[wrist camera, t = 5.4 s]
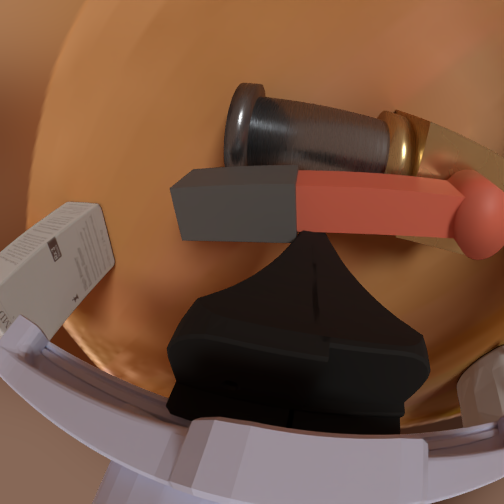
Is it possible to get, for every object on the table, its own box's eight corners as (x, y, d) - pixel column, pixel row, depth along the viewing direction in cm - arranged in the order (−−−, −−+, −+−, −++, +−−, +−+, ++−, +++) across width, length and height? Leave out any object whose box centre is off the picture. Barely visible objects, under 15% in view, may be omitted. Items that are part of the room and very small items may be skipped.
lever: (495, 174, 7) (521, 194, 6) (481, 234, 9) (501, 260, 7) (191, 159, 10) (167, 177, 8) (203, 223, 11) (184, 249, 10)
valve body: (477, 143, 11) (527, 172, 7) (454, 215, 14) (489, 262, 10) (376, 103, 12) (407, 113, 7) (357, 187, 14) (374, 232, 10)
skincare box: (118, 264, 22) (35, 373, 12) (83, 256, 22) (4, 349, 12) (100, 198, 18) (-18, 306, 8) (65, 197, 19) (-39, 287, 9)
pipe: (518, 168, 10) (560, 199, 6) (496, 228, 13) (529, 269, 9) (253, 83, 12) (228, 82, 9) (246, 164, 15) (221, 196, 11)
